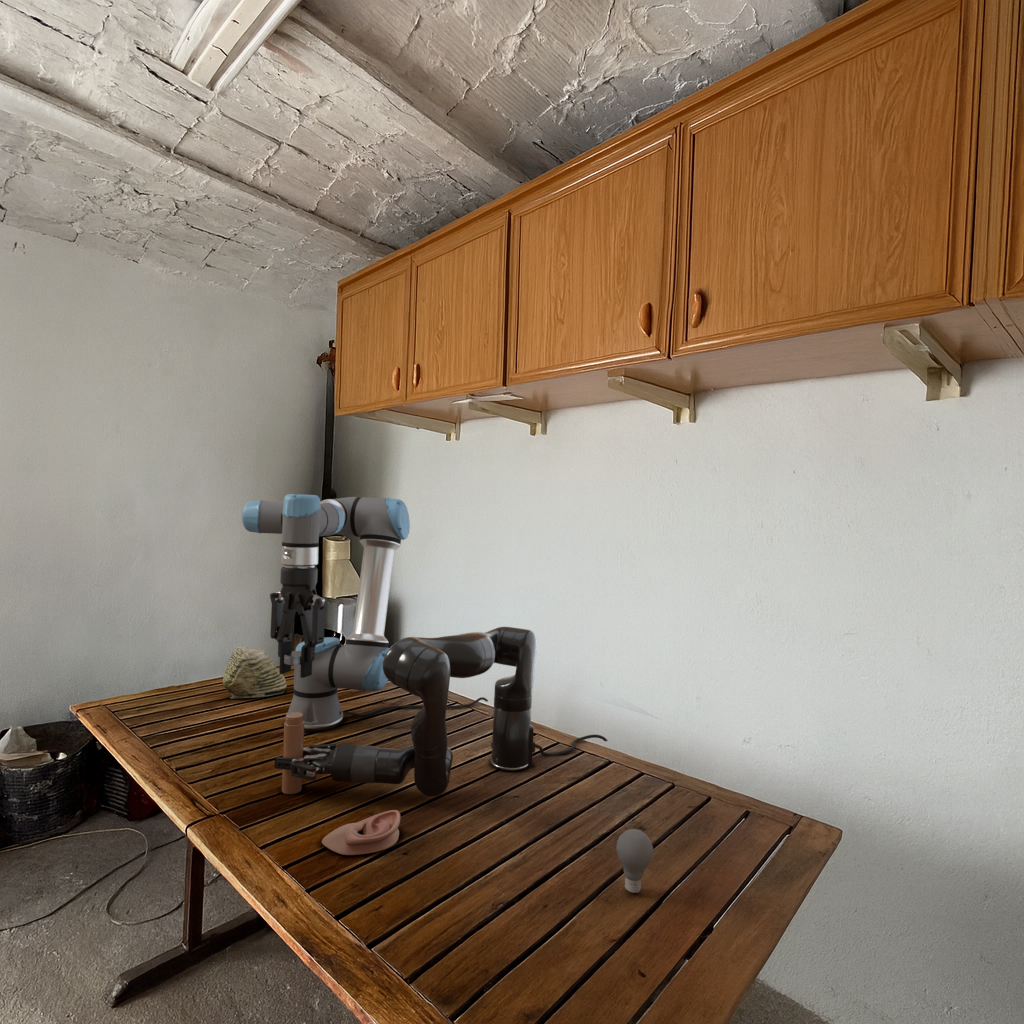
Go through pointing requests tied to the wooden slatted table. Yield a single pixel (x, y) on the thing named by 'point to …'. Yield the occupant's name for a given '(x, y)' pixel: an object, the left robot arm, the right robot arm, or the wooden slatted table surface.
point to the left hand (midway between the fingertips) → (295, 674)
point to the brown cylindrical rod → (292, 750)
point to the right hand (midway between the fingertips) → (280, 758)
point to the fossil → (252, 674)
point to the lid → (292, 658)
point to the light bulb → (634, 857)
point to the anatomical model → (365, 835)
